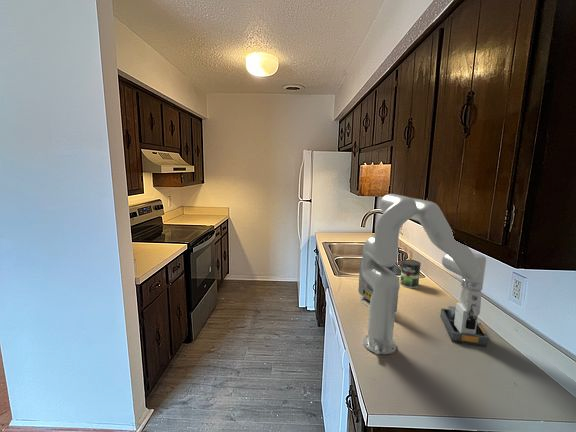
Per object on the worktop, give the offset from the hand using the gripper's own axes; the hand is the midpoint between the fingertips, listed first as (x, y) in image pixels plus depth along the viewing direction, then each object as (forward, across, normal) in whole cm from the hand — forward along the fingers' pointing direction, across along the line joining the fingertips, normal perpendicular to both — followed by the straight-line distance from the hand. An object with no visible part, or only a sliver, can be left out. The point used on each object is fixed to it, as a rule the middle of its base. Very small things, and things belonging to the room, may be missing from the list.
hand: (466, 322), depth 126 cm
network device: (+6, +18, +36) cm, 41 cm away
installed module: (+6, +10, 0) cm, 12 cm away
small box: (+4, 0, +1) cm, 4 cm away
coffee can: (+6, +52, +16) cm, 54 cm away
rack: (+6, +5, 0) cm, 8 cm away
